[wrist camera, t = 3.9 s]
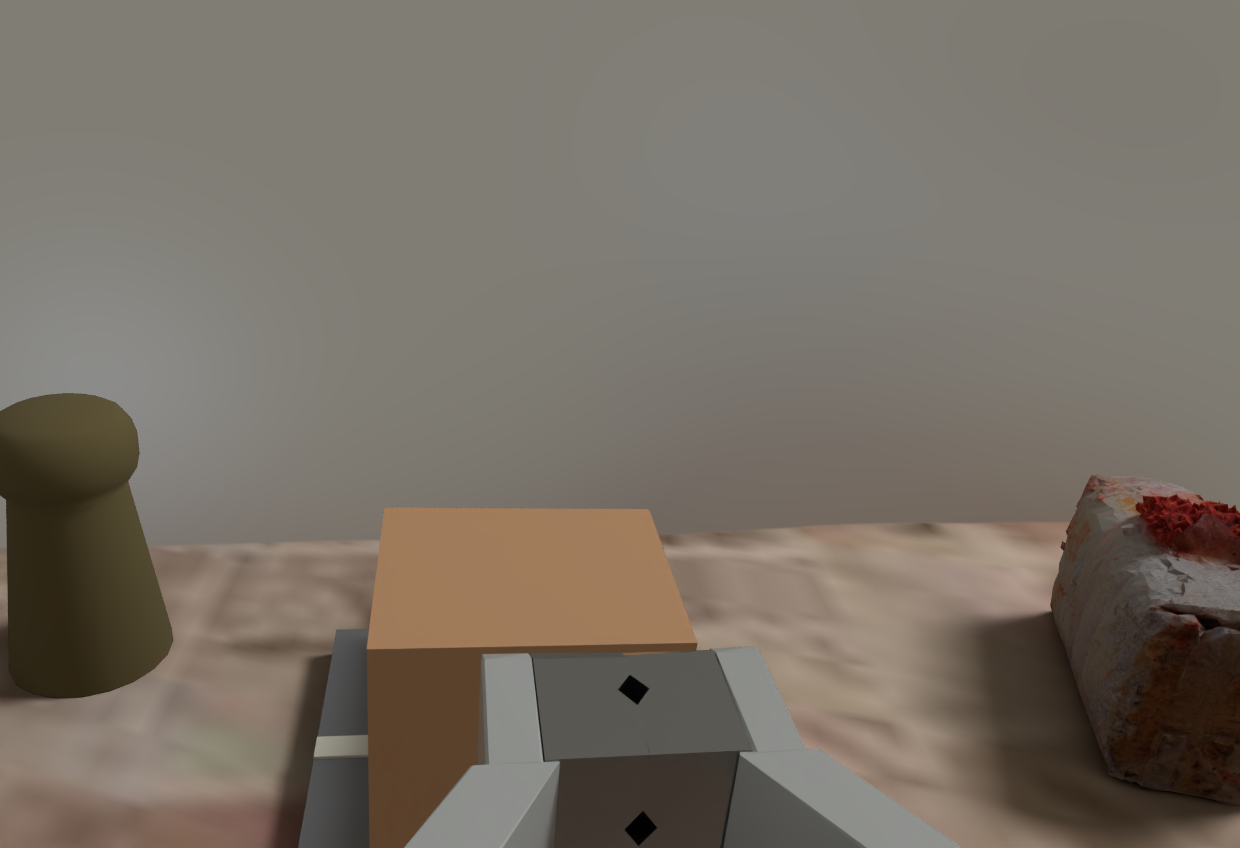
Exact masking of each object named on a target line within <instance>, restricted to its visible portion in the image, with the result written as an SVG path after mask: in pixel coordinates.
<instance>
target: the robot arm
mask: <svg viewBox="0 0 1240 848" xmlns="http://www.w3.org/2000/svg"><path fill="white" fill-rule="evenodd" d="M404 848H962V847H960V846H959V845H957V844H956V843H954V842H953V841H951V840H950V839H949V838H947V837H946V836H944V835H943V834H941V833H940V832H938V831H937V830H936V829H934V828H933V827H931V826H930V825H928V824H927V823H925V822H924V821H923V820H921V819H920V818H918V817H917V816H915V815H914V814H912V813H911V812H910V811H908V810H907V809H905V808H904V807H902V806H901V805H899V804H898V803H897V802H895V801H894V800H892V799H891V798H889V797H888V796H886V795H885V794H884V793H882V792H881V791H879V790H878V789H876V788H875V787H873V786H872V785H871V784H869V783H868V782H866V781H865V780H863V779H862V778H860V777H859V776H858V775H856V774H855V773H853V772H852V771H850V770H849V769H847V768H846V767H845V766H843V765H842V764H840V763H839V762H837V761H836V760H834V759H833V758H832V757H830V756H829V755H827V754H826V753H824V752H823V751H821V750H820V749H806V748H805V746H804V744H803V742H802V740H801V737H800V735H799V733H798V731H797V729H796V727H795V724H794V722H793V720H792V718H791V716H790V714H789V712H788V709H787V707H786V705H785V703H784V701H783V699H782V696H781V694H780V692H779V690H778V688H777V686H776V684H775V681H774V679H773V677H772V675H771V673H770V671H769V668H768V666H767V664H766V662H765V660H764V658H763V655H762V653H761V651H760V650H758V649H757V648H756V647H754V646H747V647H729V648H711V649H710V650H697V651H667V652H637V653H622V652H601V653H531V654H530V655H529V654H528V653H515V654H482V659H481V671H480V699H479V728H478V765H473V766H470V767H469V769H468V770H467V771H466V772H465V773H464V775H463V776H462V777H461V778H460V780H459V781H458V782H457V783H456V784H455V786H454V787H453V788H452V789H451V791H450V792H449V793H448V794H447V795H446V797H445V798H444V799H443V800H442V802H441V803H440V804H439V805H438V806H437V808H436V809H435V810H434V811H433V813H432V814H431V815H430V816H429V817H428V819H427V820H426V821H425V822H424V824H423V825H422V826H421V827H420V828H419V830H418V831H417V832H416V833H415V835H414V836H413V837H412V838H411V839H410V841H409V842H408V843H407V844H406V846H405V847H404Z"/></svg>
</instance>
